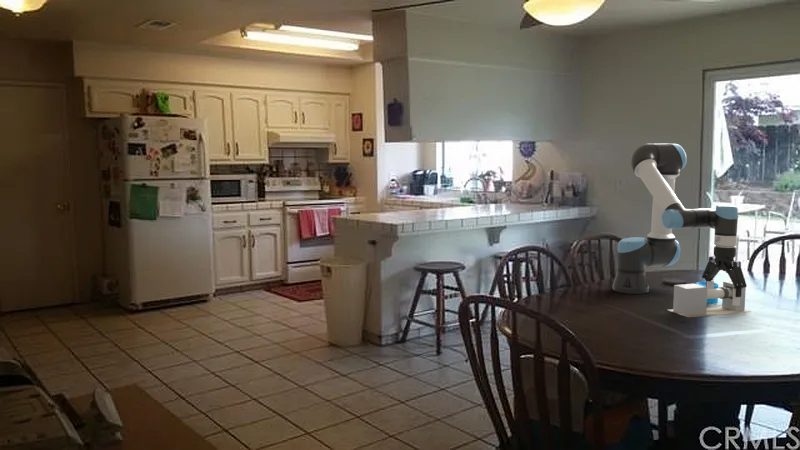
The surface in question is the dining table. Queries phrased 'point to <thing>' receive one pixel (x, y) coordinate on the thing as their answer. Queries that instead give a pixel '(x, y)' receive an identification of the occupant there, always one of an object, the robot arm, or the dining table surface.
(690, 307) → the sleeve
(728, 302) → the socket
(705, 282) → the mug
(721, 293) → the tube
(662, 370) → the dining table surface
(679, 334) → the dining table surface
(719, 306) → the mount board
